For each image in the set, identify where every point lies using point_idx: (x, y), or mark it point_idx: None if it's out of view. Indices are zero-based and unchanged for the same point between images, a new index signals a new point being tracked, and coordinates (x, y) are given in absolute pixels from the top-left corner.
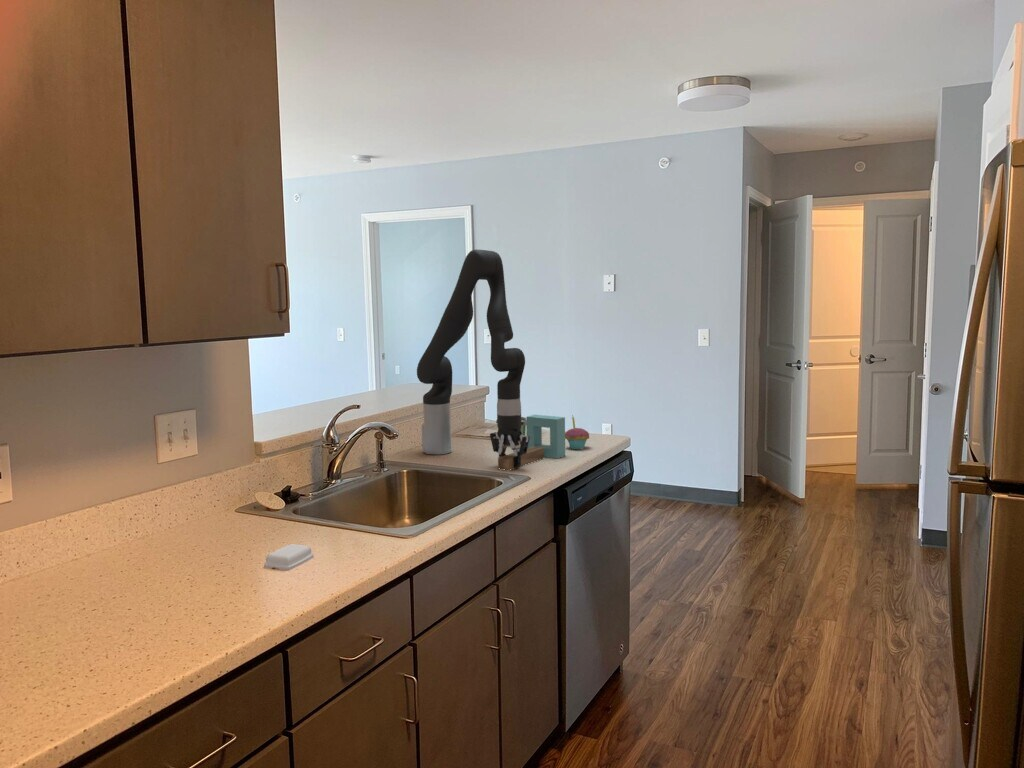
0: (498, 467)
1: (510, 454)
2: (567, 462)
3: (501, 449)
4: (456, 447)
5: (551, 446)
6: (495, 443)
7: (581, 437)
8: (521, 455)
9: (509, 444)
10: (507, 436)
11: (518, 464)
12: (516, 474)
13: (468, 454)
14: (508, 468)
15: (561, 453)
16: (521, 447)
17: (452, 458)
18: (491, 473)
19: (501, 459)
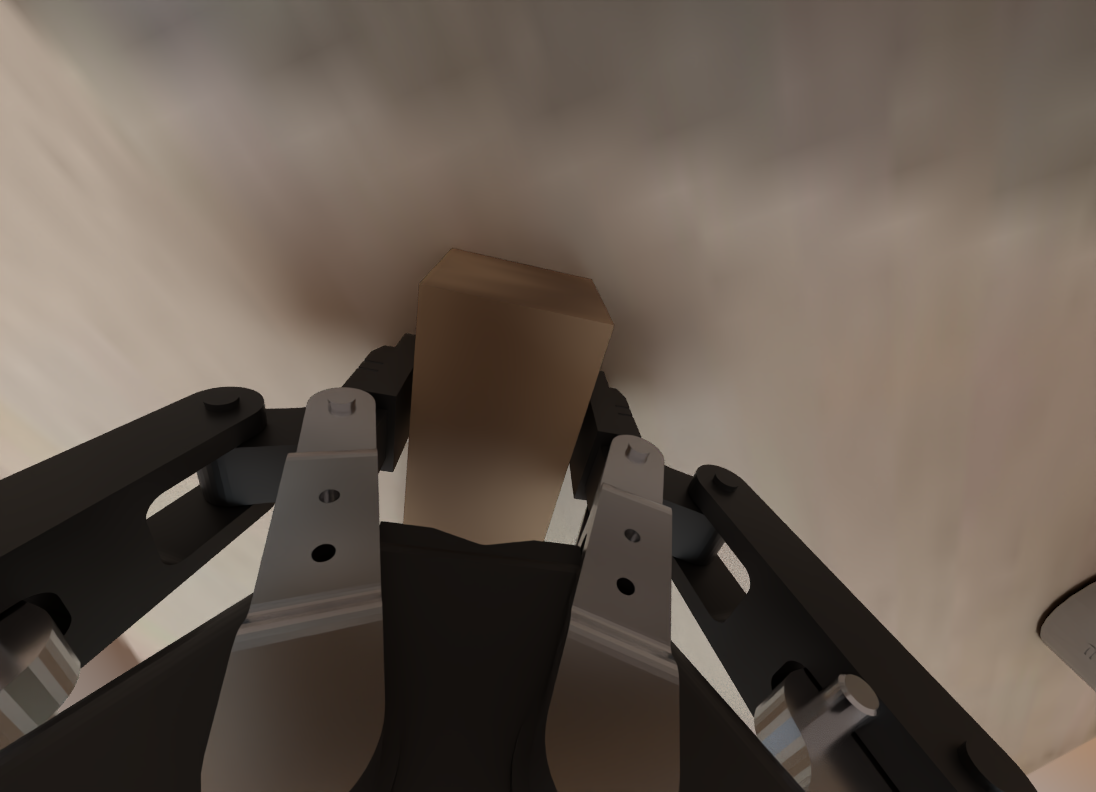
0: (590, 284)
1: (525, 509)
2: (204, 613)
3: (611, 477)
4: (989, 688)
5: None
6: (761, 576)
7: None
8: (406, 523)
9: (438, 546)
10: (455, 767)
11: (369, 356)
12: (248, 71)
13: (922, 606)
14: (450, 253)
15: None
16: (106, 471)
17: (1058, 503)
18: (595, 6)
19: (552, 305)
